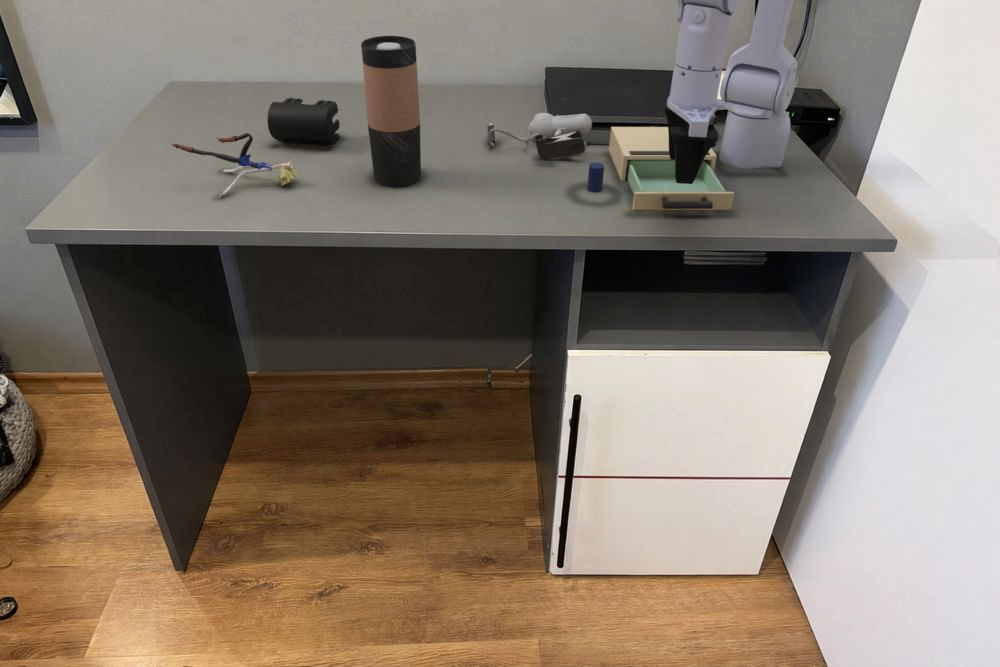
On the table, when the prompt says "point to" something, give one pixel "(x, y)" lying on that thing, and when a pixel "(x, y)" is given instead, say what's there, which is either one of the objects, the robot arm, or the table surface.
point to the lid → (595, 177)
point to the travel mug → (392, 109)
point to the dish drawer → (643, 146)
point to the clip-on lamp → (554, 134)
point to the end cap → (303, 122)
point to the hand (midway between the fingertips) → (680, 170)
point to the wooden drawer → (674, 188)
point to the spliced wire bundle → (245, 161)
